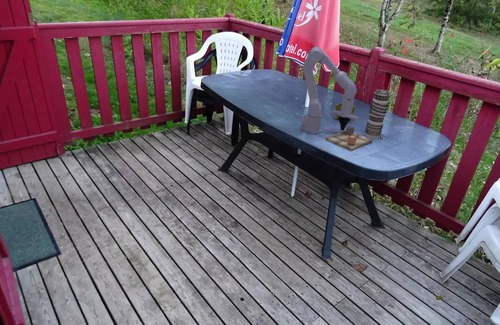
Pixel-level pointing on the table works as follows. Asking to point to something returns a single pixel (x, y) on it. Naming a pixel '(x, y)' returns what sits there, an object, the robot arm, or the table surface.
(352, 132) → the fader
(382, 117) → the banded round tower
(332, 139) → the console
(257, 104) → the table surface
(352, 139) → the fader
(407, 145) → the table surface
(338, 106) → the flower pot
